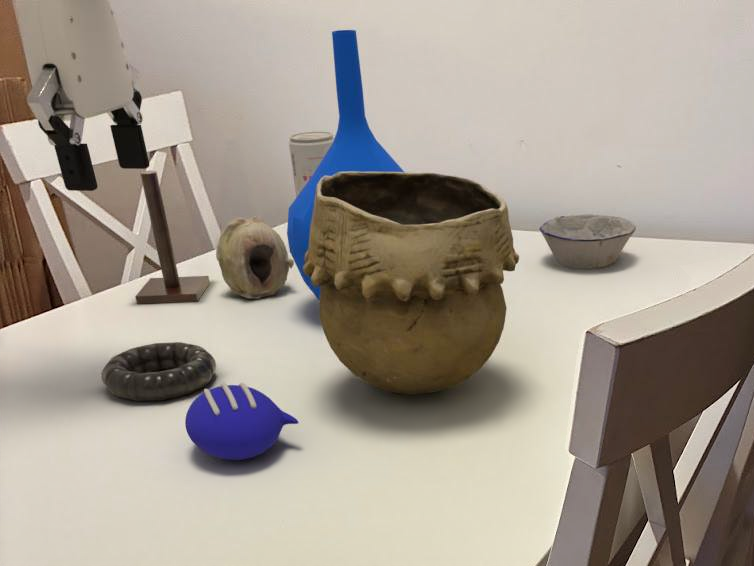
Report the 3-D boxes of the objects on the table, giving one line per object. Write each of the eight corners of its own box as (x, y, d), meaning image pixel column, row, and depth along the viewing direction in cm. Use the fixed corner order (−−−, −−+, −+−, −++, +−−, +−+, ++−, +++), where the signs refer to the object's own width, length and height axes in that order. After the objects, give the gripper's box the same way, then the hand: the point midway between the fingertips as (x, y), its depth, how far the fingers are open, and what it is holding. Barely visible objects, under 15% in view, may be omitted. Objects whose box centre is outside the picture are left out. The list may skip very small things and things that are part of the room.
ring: (93, 407, 102) (85, 381, 100) (123, 365, 111) (117, 341, 109) (205, 402, 102) (199, 376, 100) (225, 361, 111) (221, 336, 109)
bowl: (522, 266, 136) (522, 229, 133) (568, 244, 145) (568, 209, 142) (605, 279, 130) (607, 241, 127) (648, 255, 139) (651, 218, 136)
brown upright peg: (136, 304, 129) (107, 180, 120) (151, 285, 136) (125, 166, 127) (197, 301, 129) (172, 177, 120) (209, 283, 135) (187, 164, 127)
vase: (441, 328, 117) (424, 36, 100) (288, 333, 118) (244, 43, 100) (444, 281, 132) (430, 20, 115) (308, 286, 132) (273, 26, 115)
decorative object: (288, 393, 85) (174, 423, 85) (307, 454, 89) (197, 483, 88) (280, 356, 94) (177, 383, 93) (298, 413, 97) (198, 439, 96)
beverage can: (304, 240, 152) (290, 132, 143) (347, 238, 152) (335, 130, 143) (301, 252, 146) (286, 140, 138) (345, 249, 147) (333, 138, 138)
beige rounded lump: (230, 313, 132) (190, 241, 127) (268, 285, 137) (231, 214, 132) (276, 301, 126) (236, 225, 121) (315, 272, 131) (278, 198, 126)
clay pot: (519, 347, 111) (517, 154, 99) (521, 427, 94) (519, 205, 82) (335, 352, 112) (312, 160, 100) (304, 432, 95) (272, 212, 83)
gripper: (77, -33, 95) (122, 160, 106) (-40, -21, 82) (24, 198, 92) (146, -36, 94) (185, 160, 104) (38, -24, 80) (95, 200, 90)
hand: (109, 178), depth 98 cm, fingers open, 9 cm apart
